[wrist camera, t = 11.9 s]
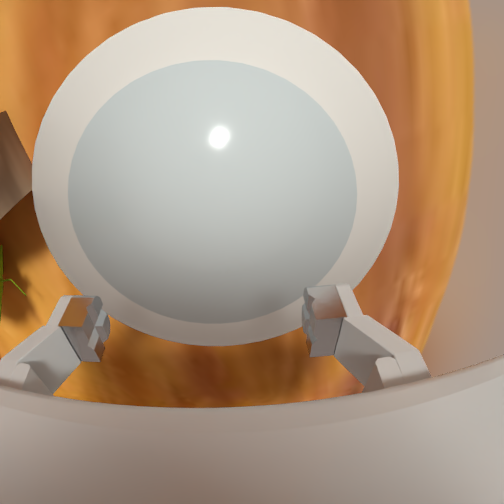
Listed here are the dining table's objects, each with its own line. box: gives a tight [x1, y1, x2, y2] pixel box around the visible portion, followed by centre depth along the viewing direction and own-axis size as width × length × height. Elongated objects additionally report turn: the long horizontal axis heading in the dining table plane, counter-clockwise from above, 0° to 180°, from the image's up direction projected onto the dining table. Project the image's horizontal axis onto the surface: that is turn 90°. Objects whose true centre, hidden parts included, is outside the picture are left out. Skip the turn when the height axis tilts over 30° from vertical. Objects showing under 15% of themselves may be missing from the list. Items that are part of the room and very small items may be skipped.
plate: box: [32, 7, 399, 346], centre depth 16 cm, size 20×20×1 cm
